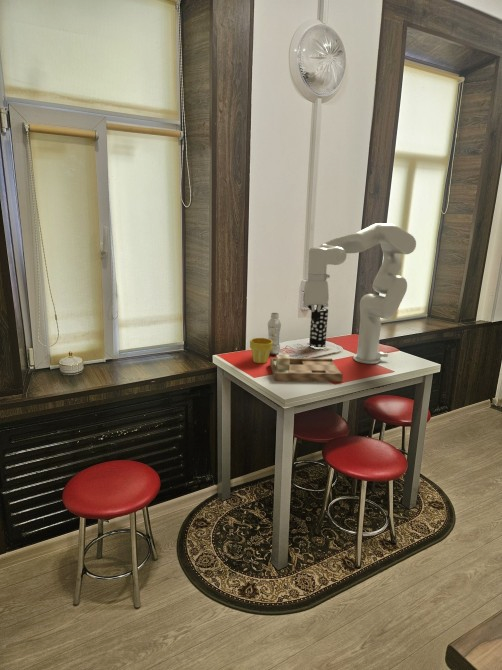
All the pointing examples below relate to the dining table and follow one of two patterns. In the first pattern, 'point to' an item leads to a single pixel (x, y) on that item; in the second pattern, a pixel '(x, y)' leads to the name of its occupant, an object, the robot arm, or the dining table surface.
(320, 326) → the spotted tube
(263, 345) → the plant pot
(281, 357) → the block
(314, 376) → the box
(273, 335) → the plastic bottle
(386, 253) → the robot arm
